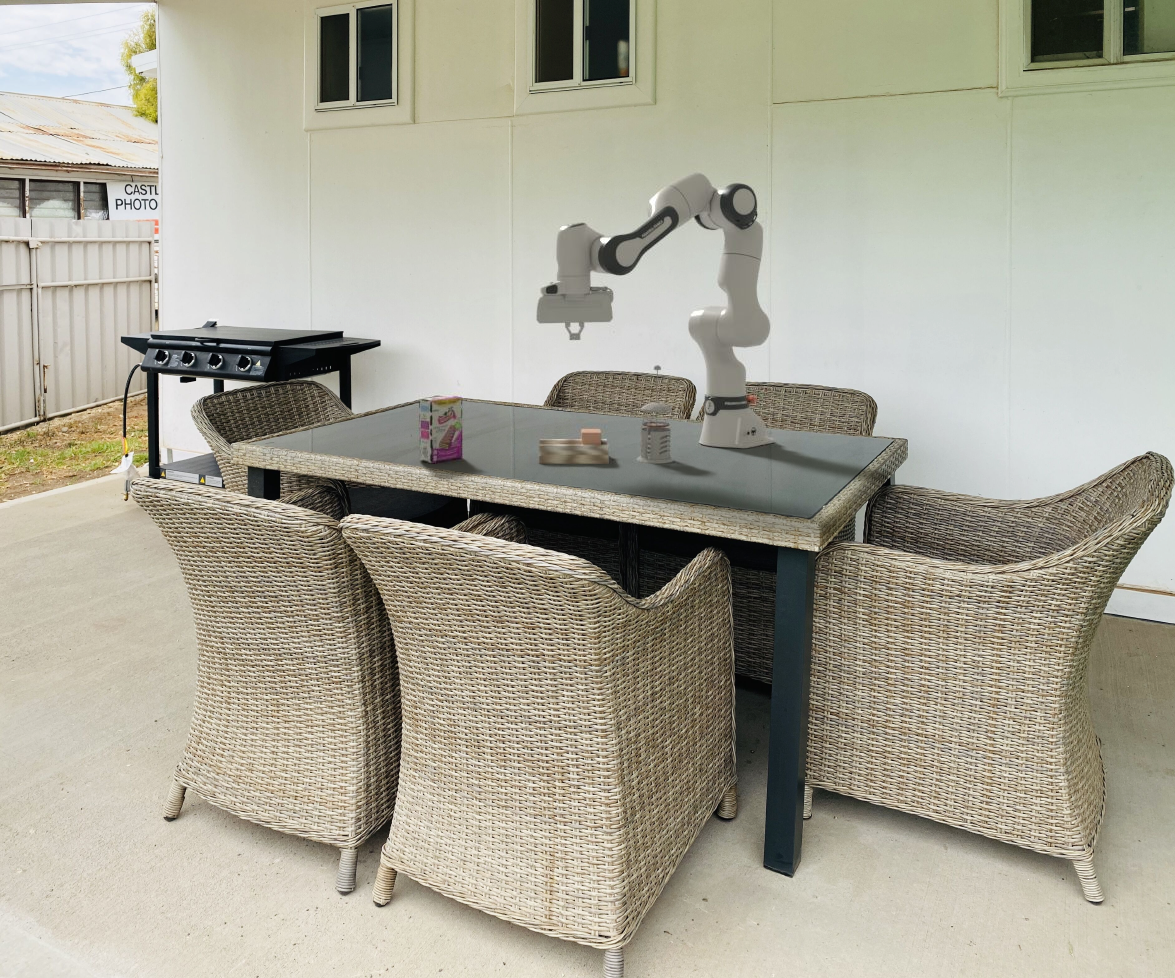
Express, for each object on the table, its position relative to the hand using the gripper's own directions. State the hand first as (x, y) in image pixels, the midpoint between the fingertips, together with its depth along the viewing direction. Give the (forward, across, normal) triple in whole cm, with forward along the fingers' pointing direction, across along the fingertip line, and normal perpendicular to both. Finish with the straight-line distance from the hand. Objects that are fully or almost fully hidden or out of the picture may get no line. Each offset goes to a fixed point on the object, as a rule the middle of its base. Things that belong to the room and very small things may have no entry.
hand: (574, 340), depth 259 cm
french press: (+31, -20, +11) cm, 39 cm away
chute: (+30, +1, +9) cm, 32 cm away
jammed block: (+28, -3, +9) cm, 30 cm away
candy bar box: (+30, +36, +10) cm, 48 cm away
